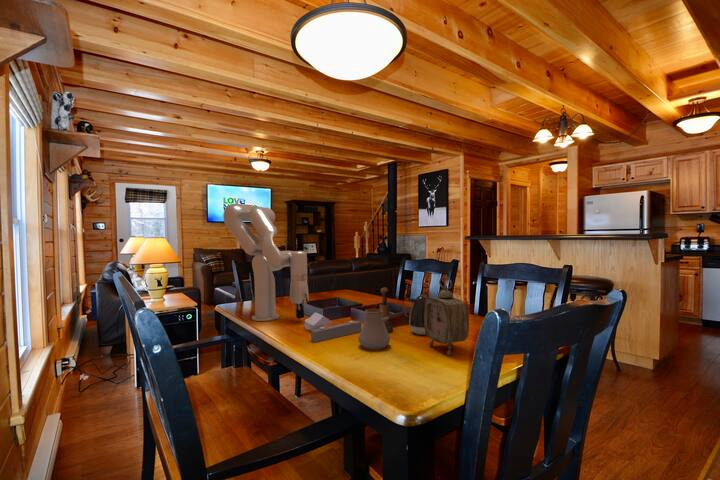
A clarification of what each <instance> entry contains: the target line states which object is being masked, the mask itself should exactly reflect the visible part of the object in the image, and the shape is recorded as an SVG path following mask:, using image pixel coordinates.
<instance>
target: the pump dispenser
mask: <svg viewBox="0 0 720 480" xmlns="http://www.w3.org/2000/svg"><path fill="white" fill-rule="evenodd" d="M426 298H428V297H427V296H425V295H423V294H421V295H418V296H416V298H412V297H410V298H409V301H410V302H412V306H411V308H410V311H409V312H410V313H409V316H408V319H409V320H408V324H409V326H410V329H411V331H412V332H413V333H414V334H416V335H420V336H425V335H426V333H425V327H424V303H425V299H426ZM426 336H427V335H426Z"/></svg>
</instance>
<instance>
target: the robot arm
mask: <svg viewBox="0 0 720 480" xmlns="http://www.w3.org/2000/svg"><path fill="white" fill-rule="evenodd" d="M223 221H224V225H225V226H226V228H227V229H228V231H229V233H231V235H232V236H233V237H234V238H235V239H236V241H237V242H238V244H239V245H240V246H241V248H242V250H244V252H245V253H246V254H247V255H249V256H254V257H253V258H252V260H251V267H252V271H253V277H254V278H253V279H254V281H253V282H254V310H255V311H254V315H252V316H251V320H252V321H255V322H269V321H274V320H278V319H279V318H280V315H279V314H278V313H276V312H277V311H276V310H277V309H276V308H277V307H276V280H275V279H276V278H275V276H274V274H273V272H276V271H280V270H282V269H283V268H285V267H286V268H287V267H288V268H289V267H290V286H289V301H290V302H291V303H292V304H293V305H295V306H294V307H295V318H296V319H304V318H305V307H308V304H307V303H308V302H309V301H310V300H309V294H310V293H309V285H308V256H307V255H308V253H307V252H306V251H304V250H295V251H293V250H280V249H279V248H278V246H277V245H276V244H275V242H274V240H273V238H274V237H276V236H277V234H278V229H277V228H276V226H275V224H274V222H275V221H276V213H275V212H274V210H272V208H269V207H262V206H257V205H251V204H245V203H230V204H228V205H227V206H226V207H225V208H224V210H223ZM245 222H250V223H251V225H252V226H253V228H254V230H255V231H256V233H257V235H256V233H254V231H253V230H252V229H251V228H250V226H249V225H248V224H246V223H245Z"/></svg>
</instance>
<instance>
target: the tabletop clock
mask: <svg viewBox="0 0 720 480" xmlns="http://www.w3.org/2000/svg"><path fill="white" fill-rule="evenodd" d="M443 279H444V280H446V281H447V280H448V282H449V283H450V286H449V287H448V285H446V284H444V285H442V283H441V281H442V280H443ZM438 283H439V287H440V288H441V289H442V290H440V291H439V292H438V294H437V296H435V297H427V298H426V299H425V303H424V327H425V333H426V336H427V337H428V338H429V339H431V340H430V341H429V342H428V345H429V346H430V347H432V346H434V342H437V343H439V344H442V345H445V344H447V345H448V350H447V352H446V354H447V356H452V354H453V351H452V350H453V349H454V348H455V346H454V344H453V343H459V342H465V341H467V339H468V337H469V331H470V311H469V310H470V309H469V305H468V304H467V303H466V302H465V301H463V300H461V299H459V298H457V297H454V293H452V291H450V290H451V288H452V287H453V282H452V280H451V279H450V277H447V276H442V277H440V278H439V282H438Z"/></svg>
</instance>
